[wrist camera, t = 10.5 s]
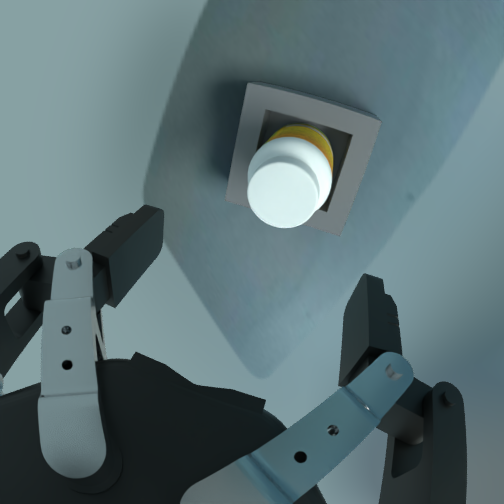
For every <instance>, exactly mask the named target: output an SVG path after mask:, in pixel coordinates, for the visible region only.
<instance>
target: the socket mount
mask: <svg viewBox="0 0 504 504" xmlns="http://www.w3.org/2000/svg"><path fill="white" fill-rule="evenodd" d="M298 122H300V123H307V124H310V125H313V126H315V127H317V128H318V129H320V130H321V131H322V132H323V133H324V134H325V135H326V136H327V138H328V139H329V141H330V143H331V146H332V150H333V170H332V184H331V189H330V192H329V195H328V197H327V199H326V201H325V202H324V204H323V205H322V206H321V207H320V208H319V209H318V210H316V211H315V212H314V213H313V215H312V216H311V217H310V218H309V219H308V220H307V221H306V222H304V223H303V225H306V226H309V227H312V228H315V229H318V230H322V231H325V232H328V233H331V234H334V235H337V236H340V235H341V233H342V230H343V228H344V225H345V223H346V220H347V218H348V215H349V213H350V210H351V207H352V205H353V202H354V200H355V197H356V194H357V192H358V189H359V186H360V183H361V181H362V178H363V175H364V172H365V170H366V167H367V164H368V161H369V158H370V155H371V153H372V150H373V147H374V144H375V141H376V138H377V135H378V132H379V129H380V126H381V123H382V121H381V120H380V119H379V118H378V117H377V116H376V115H373V114H371V113H368V112H365V111H362V110H359V109H357V108H354V107H351V106H348V105H345V104H342V103H338V102H335V101H332V100H329V99H325V98H322V97H319V96H315V95H312V94H308V93H304V92H301V91H297V90H293V89H289V88H285V87H281V86H277V85H273V84H268V83H264V82H259V81H258V82H250V83H248V84H247V88H246V93H245V98H244V103H243V108H242V112H241V117H240V122H239V127H238V132H237V138H236V143H235V148H234V153H233V158H232V164H231V169H230V174H229V180H228V185H227V191H226V196H225V201H228V202H231V203H234V204H238V205H241V206H245V207H248V208H251V207H250V204H249V201H248V197H247V188H248V168H249V165H250V162H251V160H252V158H253V156H254V155H255V153H256V152H257V151H258V150H259V149H260V148H261V147H262V146H263V145H264V144H265V143H266V142H267V141H268V140H269V139H270V137H271V136H272V135H273V134H274V133H275V132H276V131H277V130H279V129H280V128H281V127H283V126H285V125H287V124H291V123H298ZM251 209H252V208H251Z"/></svg>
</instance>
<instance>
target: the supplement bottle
mask: <svg viewBox="0 0 504 504" xmlns="http://www.w3.org/2000/svg"><path fill="white" fill-rule="evenodd" d="M332 170H333V150H332V146H331V143H330V141H329V139H328V138H327V136H326V135H325V134H324V133H323V132H322V131H321V130H320V129H318V128H317V127H315V126H313V125H310V124H307V123H300V122H298V123H291V124H287V125H285V126H283V127H281V128H280V129H279V130H277V131H276V132H275V133H274V134H273V135H272V136H271V137H270V139H269V140H268V141H267V142H266V143H265V144H264V145H263V146H262V147H261V148H260V149H259V150H258V151H257V152H256V153H255V155H254V156H253V158H252V160H251V162H250V165H249V168H248V188H247V197H248V201H249V204H250V207H251V208H252V210H253V212H254V213H255V214H256V215H257V216H258V217H259V218H260V219H261V220H262V221H264V222H265V223H267V224H269V225H272V226H275V227H279V228H291V227H295V226H299V225H301V224H303V223H304V222H306V221H307V220H308V219H309V218H310V217H311V216H312V215H313V213H314V212H315V211H316V210H318V209H319V208H320V207H321V206H322V205H323V204H324V202H325V201H326V199H327V197H328V195H329V192H330V189H331V184H332Z"/></svg>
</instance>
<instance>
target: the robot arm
mask: <svg viewBox="0 0 504 504" xmlns="http://www.w3.org/2000/svg"><path fill="white" fill-rule="evenodd" d="M163 226H164V211H163V210H162V209H159V208H156V207H153V206H149V205H144V206H142V207H141V208H140V209H139V210H138V211H136V212H135V213H134V214H133V213H129V214H127V215H124V216H122V217H119V218H118V219H117V220H116V221H115V222H114V223H112V225H111V226H109V227H108V228H106V230H105V231H103V232H102V233H101V234H100V235H98V236H97V237H96V238H95V239H94V240H93V241H92V242H90V243H89V244H88V245H87V246H86V247H85V248H84V249H82V248H72V249H68V250H66V251H63V252H62V253H60V254H59V255H58V257H49V256H42V255H41V252H40V248H39V246H38V245H37V244H35V243H33V242H23V243H20V244H17V245H16V246H14V247H13V248H12V249H11V250H9V252H7V253H6V254H5V255H4V256H3V257H2V258H1V259H0V504H327V503H326V501H325V499H324V497H323V496H322V494H321V492H320V490H319V488H318V486H317V483H318V482H319V481H320V480H321V479H323V478H324V477H325V476H326V475H327V474H328V473H329V472H331V471H332V470H333V469H334V468H335V467H336V466H337V465H338V464H339V463H341V462H342V461H343V460H344V459H345V458H346V457H347V456H348V455H349V454H350V453H351V452H352V451H353V450H354V449H355V448H356V447H357V446H358V445H359V444H360V443H361V442H362V441H363V440H364V439H365V438H366V437H367V436H368V435H369V434H370V433H371V432H372V431H373V430H374V429H375V428H378V429H380V430H382V431H383V432H385V433H387V434H388V439H387V449H386V458H385V466H384V473H383V481H382V487H381V493H380V499H379V504H466V487H467V446H466V426H465V413H464V403H463V398H462V395H461V393H460V391H459V390H458V389H457V388H456V387H455V386H454V385H453V384H451V383H448V382H439V383H437V384H436V385H435V386H434V387H433V388H432V387H430V386H428V385H426V384H425V383H423V382H421V381H419V380H418V379H416V378H415V377H414V372H413V368H412V366H411V364H410V363H409V362H408V360H407V359H405V358H404V357H403V356H402V346H401V337H400V328H399V320H398V314H397V313H398V312H397V306H396V304H395V303H394V301H393V299H392V297H391V296H390V295H387V294H385V292H384V284H383V279H381V278H378V277H375V276H371V275H368V274H365V273H364V274H363V275H362V277H361V278H360V280H359V282H358V284H357V287H356V288H355V290H354V292H353V294H352V296H351V298H350V300H349V301H348V303H347V306H346V309H345V312H344V318H343V320H344V321H343V335H342V350H341V362H340V374H339V384H338V386H341V388H340V389H339V390H337V391H336V392H335V393H334V394H333V395H331V396H330V397H329V398H328V399H326V400H325V401H324V402H323V403H321V404H320V405H319V406H317V407H316V408H315V409H314V410H312V411H311V412H310V413H308V414H307V415H306V416H304V417H303V418H302V419H300V420H299V421H298V422H296V423H295V424H294V425H292V426H291V427H290V428H288V429H287V428H286V427H285V426H284V425H283V423H282V422H281V421H279V420H278V419H277V418H276V417H275V416H274V415H272V414H271V413H269V412H268V411H266V410H264V405H265V402H266V400H265V399H261V398H258V397H255V396H252V395H248V394H245V393H242V392H239V391H236V390H233V389H224V388H215V387H208V386H200V385H196V384H193V383H192V382H190V381H189V380H187V379H186V378H184V377H183V376H181V375H180V374H178V373H177V372H175V371H174V370H172V369H171V368H170V367H168V366H167V365H165V364H163V363H161V362H158V361H156V360H154V359H151V358H149V357H147V356H145V355H142V354H140V353H138V352H135V354H134V355H133V357H132V358H131V360H128V359H107V356H106V349H105V341H104V331H103V320H102V311H101V308H102V307H103V306H104V304H108V305H110V306H112V307H114V308H115V307H117V305H118V304H119V303H120V302H121V300H122V299H123V298H124V297H125V295H126V294H127V293H128V291H129V290H130V289H131V288H132V286H133V285H134V284H135V283H136V282H137V280H138V279H139V278H140V277H141V275H142V274H143V273H144V272H145V271H146V270H147V268H148V267H149V266H150V265H151V264H152V262H153V261H154V260H155V259H156V258H157V256H158V255H159V253H160V251H161V248H162V244H163ZM18 291H19V293H20V296H21V298H20V299H19V300H18V302H17V303H16V304H15V305H14V306H13V307H12V309H11V310H10V311H9V312H8V313H7V314H6V316H4V310H5V307H6V305H7V303H8V302H9V301H10V300H11V299H12V297H13V296H14V295H15V294H16V293H17V292H18ZM42 324H43V325H42ZM41 326H42V344H41V345H42V346H41V382H40V383H37V384H34V385H31V386H28V387H25V388H23V389H20V390H17V391H14V392H11V393H8V394H5V395H3V392H2V389H3V378H4V377H5V375H6V373H7V372H8V371H9V369H10V368H11V366H12V365H13V363H14V362H15V360H16V359H17V358H18V356H19V355H20V353H21V352H22V351H23V349H24V348H25V347H26V345H27V344H28V343H29V341H30V340H31V339H32V337H33V336H34V335H35V333H36V332H37V331H38V329H39V328H40V327H41Z"/></svg>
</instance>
